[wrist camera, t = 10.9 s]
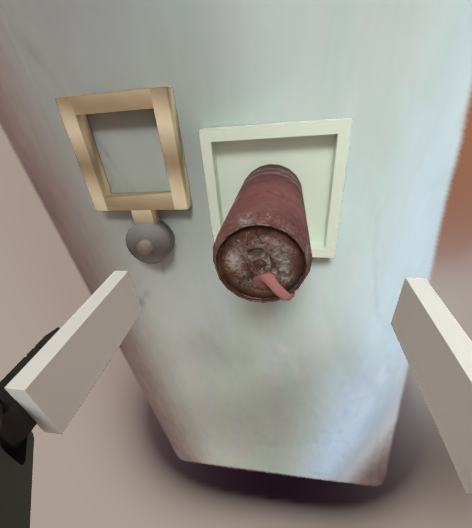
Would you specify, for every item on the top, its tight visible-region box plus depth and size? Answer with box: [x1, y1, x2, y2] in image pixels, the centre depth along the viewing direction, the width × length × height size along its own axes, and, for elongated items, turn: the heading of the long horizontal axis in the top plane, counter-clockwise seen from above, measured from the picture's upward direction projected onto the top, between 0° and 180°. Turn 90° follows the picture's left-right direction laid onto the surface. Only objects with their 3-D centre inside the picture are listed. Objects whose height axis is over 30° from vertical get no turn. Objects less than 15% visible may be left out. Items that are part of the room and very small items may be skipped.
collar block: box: [55, 87, 192, 264], centre depth 28 cm, size 18×11×3 cm, turn 5°
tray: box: [199, 118, 353, 258], centre depth 27 cm, size 13×13×2 cm
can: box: [213, 164, 312, 303], centre depth 22 cm, size 6×6×14 cm
